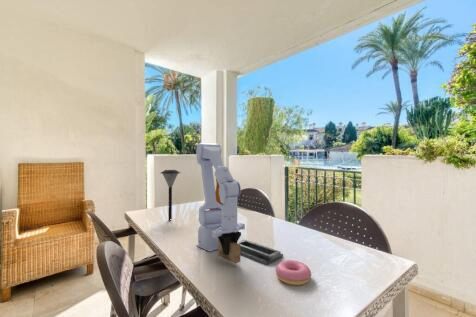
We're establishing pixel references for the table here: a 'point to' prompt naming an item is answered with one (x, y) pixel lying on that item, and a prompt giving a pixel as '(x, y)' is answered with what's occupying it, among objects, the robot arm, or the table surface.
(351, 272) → the table surface
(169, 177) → the solar garden light
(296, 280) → the doughnut
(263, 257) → the floor track
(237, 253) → the door panel
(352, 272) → the table surface
